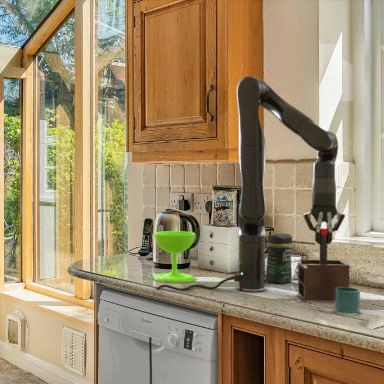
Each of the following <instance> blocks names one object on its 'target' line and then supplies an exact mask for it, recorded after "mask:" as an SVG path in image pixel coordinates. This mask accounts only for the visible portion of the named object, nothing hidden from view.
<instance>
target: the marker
mask: <svg viewBox="0 0 384 384" xmlns="http://www.w3.org/2000/svg"><path fill="white" fill-rule="evenodd" d="M320 233H321V243H320V244H319V260H320V264H327V260H328V244H327V235H328V229H327V227H325V228H323V227H320Z"/></svg>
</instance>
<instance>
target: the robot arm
mask: <svg viewBox="0 0 384 384" xmlns="http://www.w3.org/2000/svg"><path fill="white" fill-rule="evenodd" d="M236 99H237V101H236V102H237V109H238V135H239V136H238V163H239V171H240V177H241V197H240V203H239V205H238V262H237V272H235V273H233V276H231V277H228V278H225V279H223V280H221V281H220V282H218V283H217V284H216V285H215V286H206V285H203V284H190V285H189V286H187V287H181V288H180V287H175V286H172V285H169V284H161V285H159V286H157V287H156V290H157V291H158V290H160V289H162V288H168V289H172V290H174V291H180V292H184V291H188V290H191V289H192V288H203V289H207V290H215V289H218V288H219V287H221V285H222V284H224V283H225V282H229V281H232V280H233V282H235V283H237V289H238V291H241V292H250V293H251V292H263V291H265V290H266V283H267V280H266V229H265V222H266V221H265V220H266V217H265V216H266V213H267V206H266V200H265V190H264V178H265V169H266V157H267V156H266V153H267V152H266V150H267V149H266V137H265V132H264V131H263V127H262V123H261V119H260V113H259V111H260V107H261V108H263V109H264V110H266V111H268V112H269V113H271V114H272V115H273V116H274V117H275V118H276V119H277V120H278V121H279V122H280V123H281V125H283V126H284V127H285V128H287V129H288V130H289V131H291V132H292V133H293V134H295V135H296V136H298V137H299V138H301V140H302V141H303V142H304V143H306V144H307V145H308V146H309V147H310V148H311V149H313V150H314V151H316V152H317V153H316V159H315V161H313V165H312V183H311V208H310V210H309V212H306V213H303V214H302V217H303V219H304V221H305V223H306V225H307V228H308V229H309V230H310V231H311V232H312V231H313V232H314V241H315V242H316V244H317V245H320V243H321V233H320V228H322V227H321V226H322V223H325V226H326V228H327V229H328V235H327V245H331V243H332V242H333V233H334V232H338V231H339V229H340V228H341V225H342V223H343V222H344V219H345V217H346V215H345V214H343V213H341V212H339V211H338V209H337V181H336V162H337V158H338V153H339V139H338V136H337V135H336V134H335V133H334V132H332V131H329V130H325V129H324V128H322V127H320V126H319V125H317V124H316V123H315V121H314V120H313V119H312V118H311V117H310V116H308V115H307V114H305V113H304V112H302V111H301V110H300V109H298V108H296V107H295V106H294V105H292V104H290V103H289V102H288V101H286V100H285V99H284V98H282V97H281V96H280V95H279V94H278V93H277V92H276V91H275V90H274V89H273V88H272V87H271V86H270V85H269V84H268V83H267V82H266V81H265V80H263V79H262V78H259V77H255V76H252V75H251V76H250V75H247V76H244V77H242V78H241V79H240V80H239V82H238V83H237V87H236ZM312 217H313V219H314V220H315V225H314V224H313V222H312V221H311V219H312ZM334 218H336V221H335V223H334V225H333V219H334ZM148 347H149V349H148V350H149V351H148V352H149V354H148V355H149V384H153V355H152V353H153V352H152V336H148Z"/></svg>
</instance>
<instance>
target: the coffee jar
mask: <svg viewBox="0 0 384 384" xmlns="http://www.w3.org/2000/svg"><path fill="white" fill-rule="evenodd" d="M266 246H267V258H266V259H267V262H266V270H265V280H266V282H268V283H271V284H286V283H290V282H292V279H293V274H292V247H293V237H292V235H291V234H289V233H282V232H278V233H269V235H267V238H266Z"/></svg>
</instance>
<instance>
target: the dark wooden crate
mask: <svg viewBox="0 0 384 384" xmlns="http://www.w3.org/2000/svg"><path fill="white" fill-rule="evenodd" d="M297 272H298V276H297V277H298V278H297V281H298V282H297V283H298V284H297V288H298V289H297V295H298V296H299V297H301V298H302V299H303V301H318V302H319V301H320V302H321V301H323V302H329V301H330V302H335V288H338V287H350V264H349V263H346V262H345V261H343V260H341V259H327V264H320V259H300V262H298V271H297Z"/></svg>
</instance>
